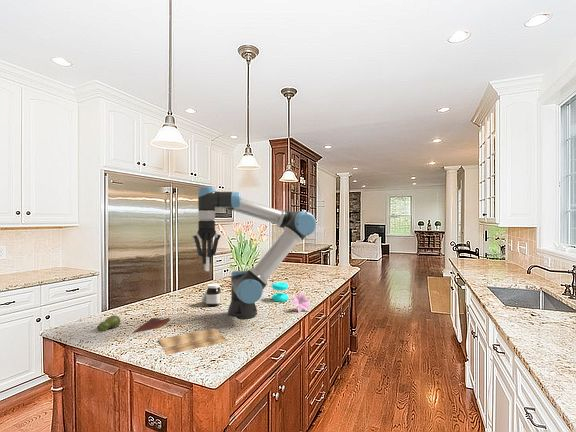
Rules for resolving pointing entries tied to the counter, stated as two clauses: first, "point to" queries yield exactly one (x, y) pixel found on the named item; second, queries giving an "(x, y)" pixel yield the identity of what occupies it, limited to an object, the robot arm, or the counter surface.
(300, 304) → the lily
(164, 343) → the plank
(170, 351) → the laid boards
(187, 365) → the counter surface
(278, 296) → the donuts
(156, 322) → the wooden tablet
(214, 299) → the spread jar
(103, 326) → the pear
